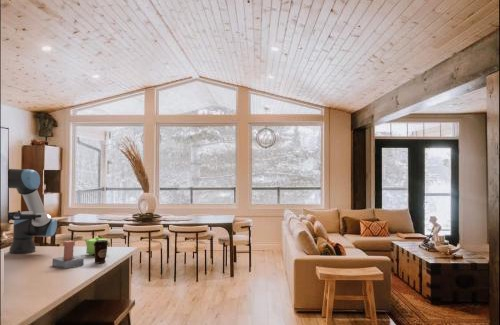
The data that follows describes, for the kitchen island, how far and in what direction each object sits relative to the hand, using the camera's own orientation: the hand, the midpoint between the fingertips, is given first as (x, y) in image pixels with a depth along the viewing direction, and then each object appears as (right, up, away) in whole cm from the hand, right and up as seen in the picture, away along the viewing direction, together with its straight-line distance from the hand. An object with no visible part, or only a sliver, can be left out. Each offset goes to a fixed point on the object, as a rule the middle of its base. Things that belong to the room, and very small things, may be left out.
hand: (39, 214), depth 227 cm
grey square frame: (+14, -31, +6) cm, 34 cm away
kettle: (+17, -32, +38) cm, 53 cm away
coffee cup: (+29, -32, +17) cm, 46 cm away
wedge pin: (+14, -31, +6) cm, 34 cm away
